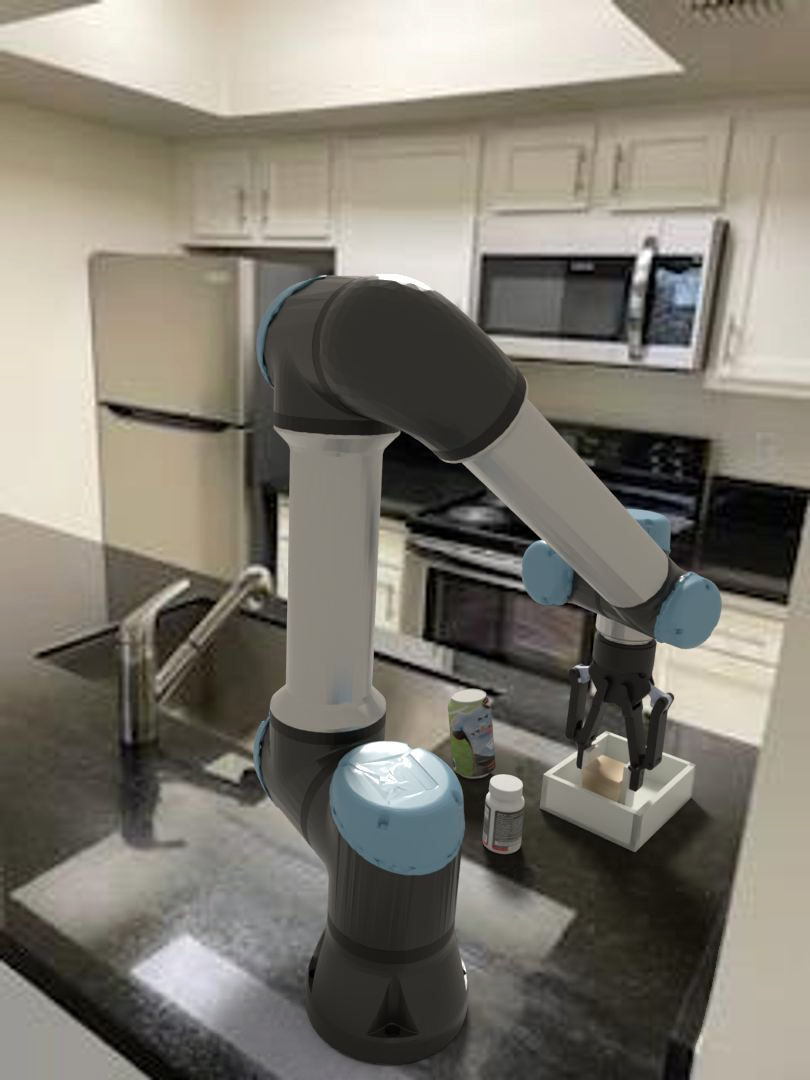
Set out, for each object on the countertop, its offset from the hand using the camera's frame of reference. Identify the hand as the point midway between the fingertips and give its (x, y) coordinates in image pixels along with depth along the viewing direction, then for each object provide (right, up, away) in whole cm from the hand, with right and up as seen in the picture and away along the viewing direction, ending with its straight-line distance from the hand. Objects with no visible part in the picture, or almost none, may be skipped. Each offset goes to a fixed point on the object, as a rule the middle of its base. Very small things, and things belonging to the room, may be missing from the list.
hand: (605, 800), depth 110 cm
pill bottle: (-15, -3, -7) cm, 16 cm away
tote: (+2, -1, +3) cm, 4 cm away
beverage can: (-17, +1, +9) cm, 20 cm away
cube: (0, 0, 0) cm, 0 cm away
